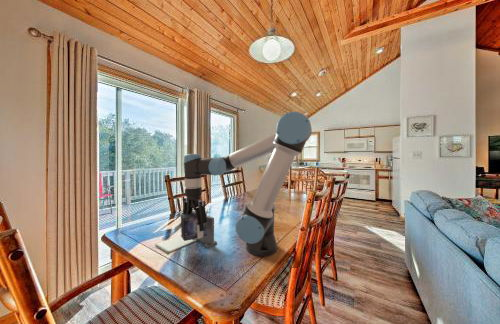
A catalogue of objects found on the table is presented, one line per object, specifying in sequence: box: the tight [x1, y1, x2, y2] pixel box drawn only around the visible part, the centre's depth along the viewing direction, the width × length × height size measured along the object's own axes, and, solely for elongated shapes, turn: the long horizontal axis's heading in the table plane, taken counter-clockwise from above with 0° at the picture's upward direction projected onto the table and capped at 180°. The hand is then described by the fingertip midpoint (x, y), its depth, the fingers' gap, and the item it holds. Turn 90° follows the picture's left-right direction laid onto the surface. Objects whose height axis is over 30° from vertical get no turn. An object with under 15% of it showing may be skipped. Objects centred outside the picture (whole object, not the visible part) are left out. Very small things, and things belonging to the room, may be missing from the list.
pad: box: [154, 234, 198, 254], centre depth 99 cm, size 11×17×1 cm, turn 142°
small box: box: [180, 212, 207, 241], centre depth 92 cm, size 11×6×10 cm, turn 122°
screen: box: [192, 211, 218, 249], centre depth 101 cm, size 14×6×14 cm, turn 52°
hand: (194, 235), depth 92 cm, fingers closed on small box, 8 cm apart
